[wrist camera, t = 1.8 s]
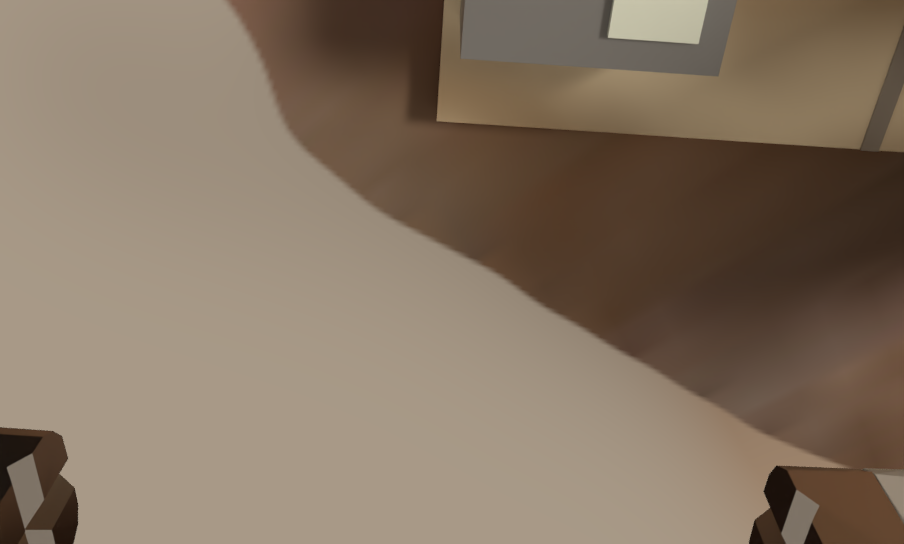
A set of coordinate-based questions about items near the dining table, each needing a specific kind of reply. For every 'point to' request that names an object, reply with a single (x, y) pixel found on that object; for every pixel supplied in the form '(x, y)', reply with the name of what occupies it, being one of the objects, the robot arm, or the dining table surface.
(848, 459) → the dining table surface
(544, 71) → the plywood panel
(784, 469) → the robot arm
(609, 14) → the grey rectangular block
